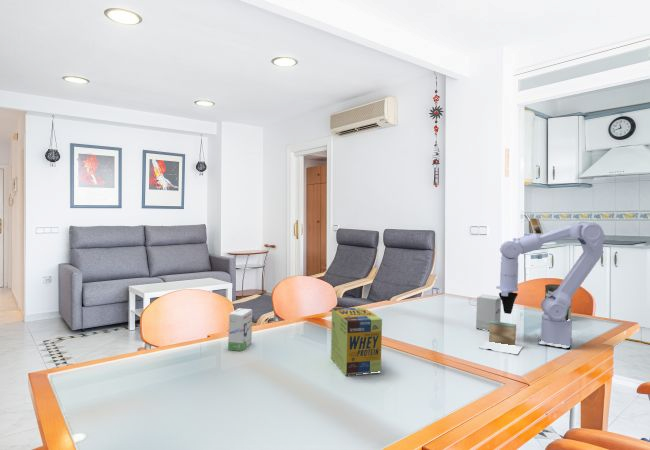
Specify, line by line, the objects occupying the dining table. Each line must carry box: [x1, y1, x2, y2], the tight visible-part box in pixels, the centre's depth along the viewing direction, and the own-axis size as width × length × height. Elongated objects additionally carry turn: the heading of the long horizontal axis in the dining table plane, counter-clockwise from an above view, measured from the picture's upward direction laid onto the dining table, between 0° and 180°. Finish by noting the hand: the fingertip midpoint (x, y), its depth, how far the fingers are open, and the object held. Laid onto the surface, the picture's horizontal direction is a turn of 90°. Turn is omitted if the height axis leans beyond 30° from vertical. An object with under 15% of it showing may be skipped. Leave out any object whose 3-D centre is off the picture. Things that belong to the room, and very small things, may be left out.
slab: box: [488, 321, 517, 345], centre depth 149 cm, size 8×3×7 cm, turn 57°
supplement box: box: [475, 294, 502, 331], centre depth 169 cm, size 7×7×13 cm
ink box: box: [227, 307, 253, 352], centre depth 143 cm, size 9×5×12 cm, turn 168°
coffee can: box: [544, 283, 573, 320], centre depth 187 cm, size 10×10×14 cm
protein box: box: [330, 307, 383, 377], centre depth 127 cm, size 10×15×16 cm
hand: (507, 313), depth 155 cm, fingers closed
